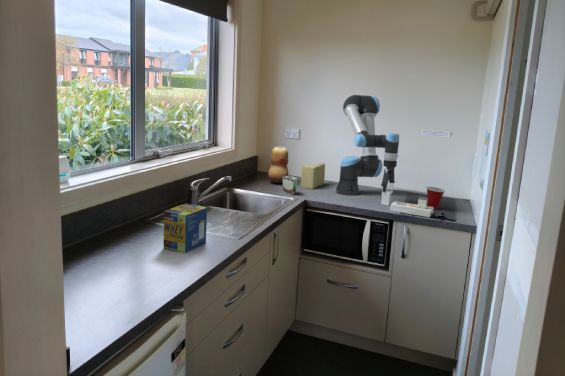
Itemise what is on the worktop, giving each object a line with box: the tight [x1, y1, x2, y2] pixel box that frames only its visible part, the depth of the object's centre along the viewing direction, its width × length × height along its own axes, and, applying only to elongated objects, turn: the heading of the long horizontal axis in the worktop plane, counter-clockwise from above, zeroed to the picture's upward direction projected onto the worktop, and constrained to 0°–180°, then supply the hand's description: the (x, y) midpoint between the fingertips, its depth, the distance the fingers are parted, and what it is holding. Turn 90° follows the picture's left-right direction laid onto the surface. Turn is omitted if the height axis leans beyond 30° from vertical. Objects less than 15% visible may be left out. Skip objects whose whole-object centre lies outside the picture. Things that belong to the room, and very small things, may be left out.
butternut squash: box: [267, 146, 289, 184], centre depth 318 cm, size 14×13×25 cm
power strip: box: [389, 200, 447, 219], centre depth 263 cm, size 30×10×4 cm, turn 63°
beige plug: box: [417, 196, 428, 209], centre depth 262 cm, size 4×4×9 cm
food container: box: [282, 175, 299, 196], centre depth 293 cm, size 12×6×10 cm, turn 37°
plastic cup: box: [425, 186, 446, 210], centre depth 276 cm, size 11×11×12 cm
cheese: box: [300, 162, 326, 190], centre depth 318 cm, size 22×10×15 cm, turn 145°
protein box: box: [163, 203, 208, 254], centre depth 188 cm, size 10×15×16 cm
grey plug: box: [380, 188, 393, 206], centre depth 279 cm, size 4×4×9 cm
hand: (386, 195), depth 278 cm, fingers open, 13 cm apart
